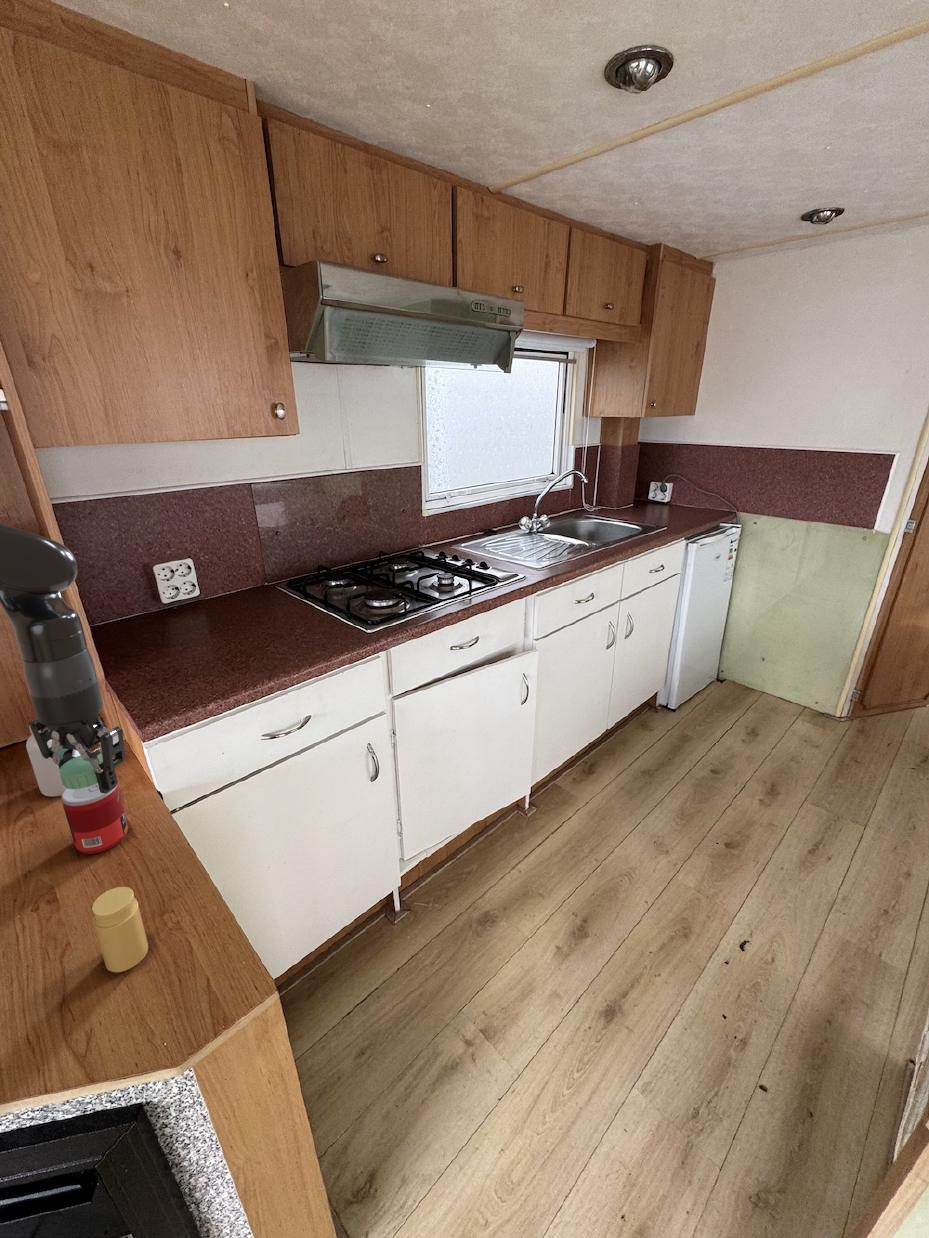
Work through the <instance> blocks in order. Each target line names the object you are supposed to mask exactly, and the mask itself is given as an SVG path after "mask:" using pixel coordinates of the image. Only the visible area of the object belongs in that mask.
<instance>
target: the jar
mask: <svg viewBox="0 0 929 1238" xmlns="http://www.w3.org/2000/svg"><path fill="white" fill-rule="evenodd" d="M91 909H92V914H93V917H92V924H93V927H94V932H95V935H96V938H97V941H98V945H99V948H100V949H99V950H100V952H101V956H102V959H103V963H104V966H105V968H106V969H107V970H108V971H109V972H111V973H122V972H125V971H128V970H130V969H132V968H134V967H135V966H137V965H138V964H140V962H141V961H143V959H144V958H145V957H146V955H147V954H148V951H149V941H148V937H147V935H146V930H145V927H144V923H143V922H144V921H143V917H142V914H141V909H140V906H139V901H138V900H137V899H136V898H135V893H134V890H133V888H130V887H128V886H117V887H114V888H110V889H109V890H107V891H105V892H104V893H101V894H100V895H99V896H98V897H97V898H96V900H94V902H93V904H92V908H91Z"/></svg>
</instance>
